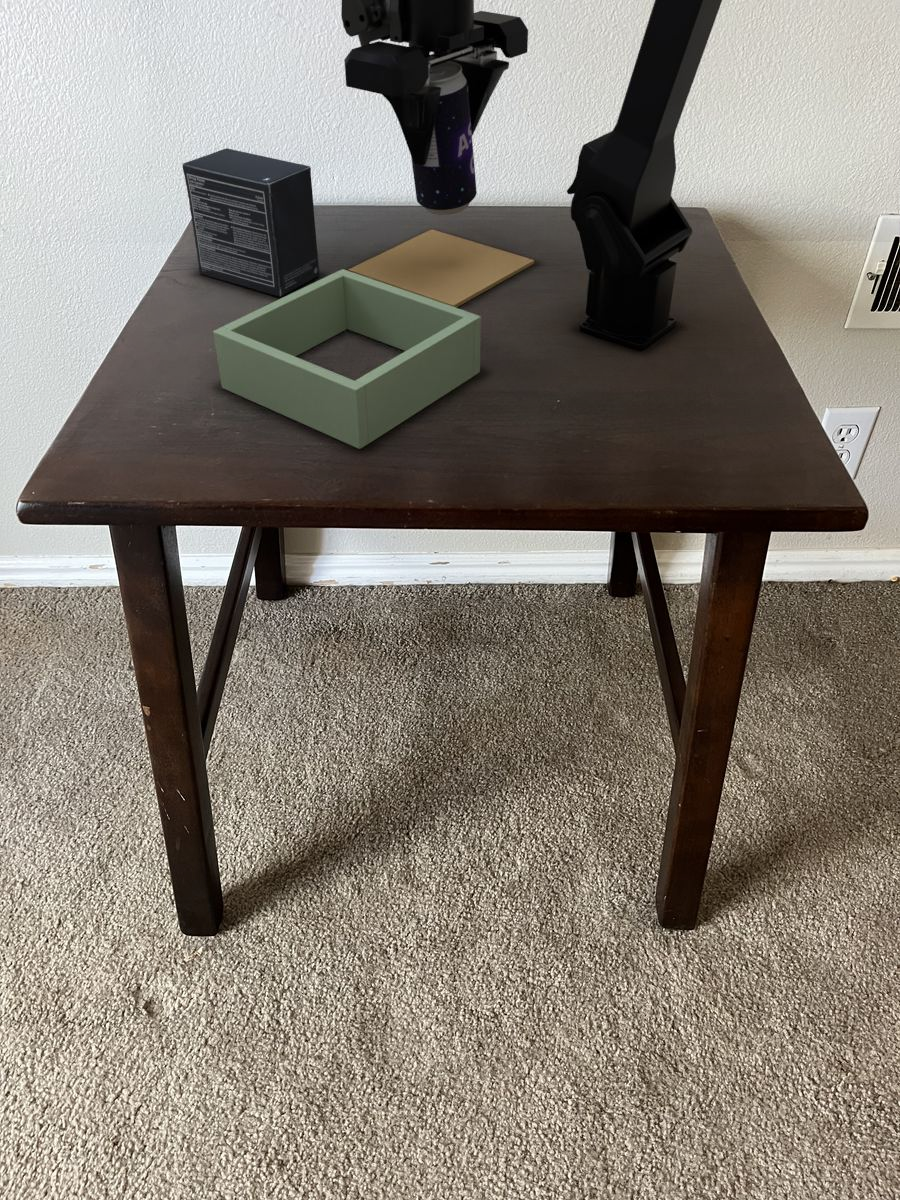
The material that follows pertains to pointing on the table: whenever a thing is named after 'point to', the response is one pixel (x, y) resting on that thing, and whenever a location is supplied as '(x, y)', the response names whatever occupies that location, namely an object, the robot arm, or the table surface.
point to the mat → (443, 267)
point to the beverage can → (448, 147)
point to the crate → (331, 401)
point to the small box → (253, 220)
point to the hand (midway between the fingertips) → (441, 155)
